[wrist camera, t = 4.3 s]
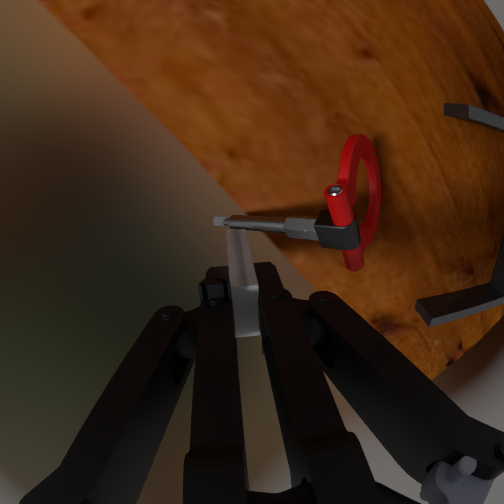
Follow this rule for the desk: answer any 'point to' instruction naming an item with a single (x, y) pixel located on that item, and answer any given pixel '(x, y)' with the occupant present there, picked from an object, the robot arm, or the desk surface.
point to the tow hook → (331, 209)
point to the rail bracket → (500, 285)
